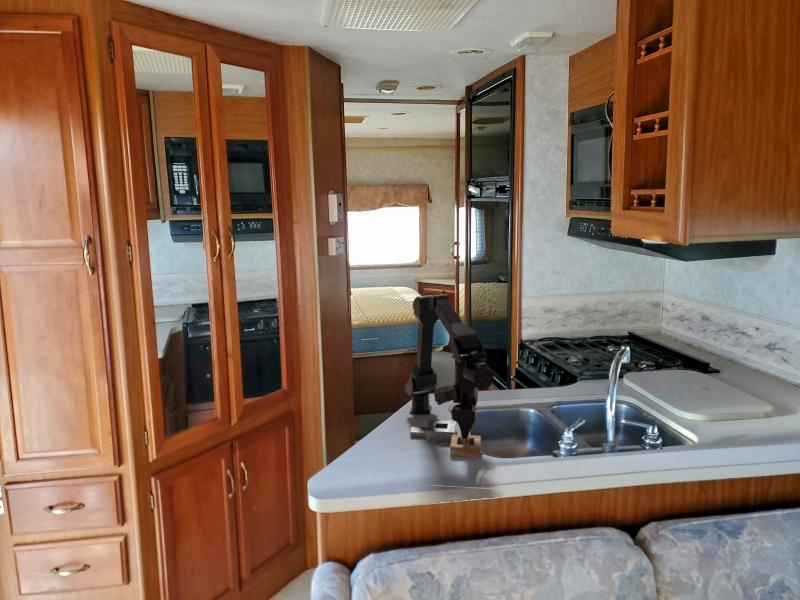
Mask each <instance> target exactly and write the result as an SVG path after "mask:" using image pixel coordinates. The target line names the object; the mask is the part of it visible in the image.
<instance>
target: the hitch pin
mask: <svg viewBox="0 0 800 600" xmlns="http://www.w3.org/2000/svg"><path fill="white" fill-rule="evenodd" d="M460 435H461V434H460ZM470 435H471V432H470V433H469V435H468V437H467V439H462V435H461V445H470Z"/></svg>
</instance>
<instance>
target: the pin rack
mask: <svg viewBox="0 0 800 600" xmlns="http://www.w3.org/2000/svg"><path fill="white" fill-rule="evenodd" d="M481 440H482V437H481V435H471V434H470V445H461V434H456V435H452V439H451V442H450V446H449V456H453V457H468V458H469V457H470V458H471V457H472V458H475V457H476V458H480V457H481V446H482V443H481V442H482V441H481Z"/></svg>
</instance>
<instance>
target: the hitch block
mask: <svg viewBox="0 0 800 600" xmlns="http://www.w3.org/2000/svg"><path fill="white" fill-rule="evenodd" d="M409 434H410V435H409V437H410V438H426V439H425V440H426V441H427V442H445V443H451V439H452V435H457V422H456V421H454V420H442V419H441V420H439V419H429V420H428V424H427V426H426V427H422V426H421V427H420V426H411V428H410V431H409Z"/></svg>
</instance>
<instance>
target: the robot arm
mask: <svg viewBox="0 0 800 600" xmlns="http://www.w3.org/2000/svg"><path fill="white" fill-rule="evenodd" d="M412 309H413V315H414V317H415V319H416V320H417V323H418V327H417V328H418V329H417V345H416V357H415V358H416V360H415V364H414V366H413V367H412V368H411V370H410V372H409V373H410V375H409V378H408V380H407V382H406V383H405V385H404V389H405V393H406V394H407V395H409V397H411V407H410V410H409V414H411V415H430V414H431V411H432V405H430V394H433V396H434V401H435V402H436V404H437V405H438V406H441V405H443V404H445V403H449V402H451V401H452V403H453V404H455V405H454V406H453V407H452V410H451V420H452V421H456V423H457V424H458V426H459V430H460V435H462V439H467V437H468V435H469V433H470V434H471V430H472V428H473V426H474V424H475V423H476V419H477V408H476V407H477V404H478V399H479V390H480V391H484V390H488V389H489V388H491V386H492V385H493V383H494V378H495V377H494V373H493V372H492V370H491V369H490V368H488V364H487V363H486V362H484V361H486V360H487V356H486V354H487V352H486V350H485V348H484V345H483V343H482V340H481V337H480V336H479V335H478V333H477V331H475V329H473V327H470V326H468V325H466V324H464V322H463V321H462V319H461V318H460V316H459V315H458V313H457V311H456V310H455V308H454V307H453V305H452V304H451V302H450V299H449V296H448V294H444V293H440V294H430V295H429V294H428V295H419V296H416V297H415V298H414V300H413V302H412ZM438 320H439V322H441V324H442V325H443V327H444V329H445V331H446V333H448V337H449V338H448V345H449V348H450V350H451V352H452V355H451V358H452V359H453V360H454V380H453V384H448V385H444V386H442V387H439V388H437V383H438V378H437V377H438V376H437V373H436V372H435V370H434V368H433V367H432V361H433V346H434V334H435V333H434V332H435V331H434V330H435V324H436V322H437V321H438Z"/></svg>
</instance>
